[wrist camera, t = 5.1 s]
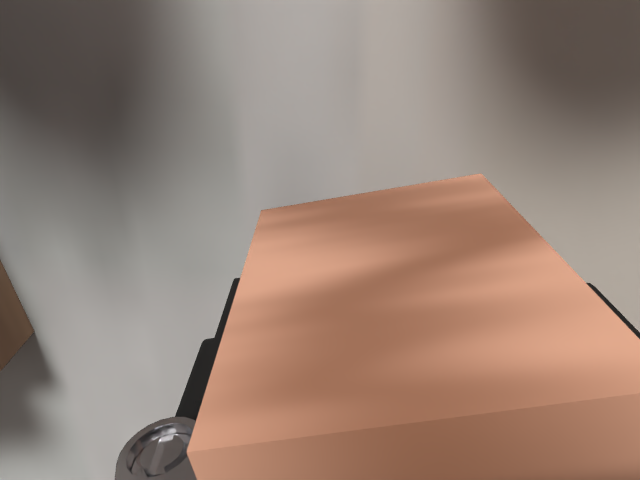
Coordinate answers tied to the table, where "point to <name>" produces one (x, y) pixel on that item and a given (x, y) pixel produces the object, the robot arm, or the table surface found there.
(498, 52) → the table surface
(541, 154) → the table surface
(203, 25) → the table surface
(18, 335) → the base block
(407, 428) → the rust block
